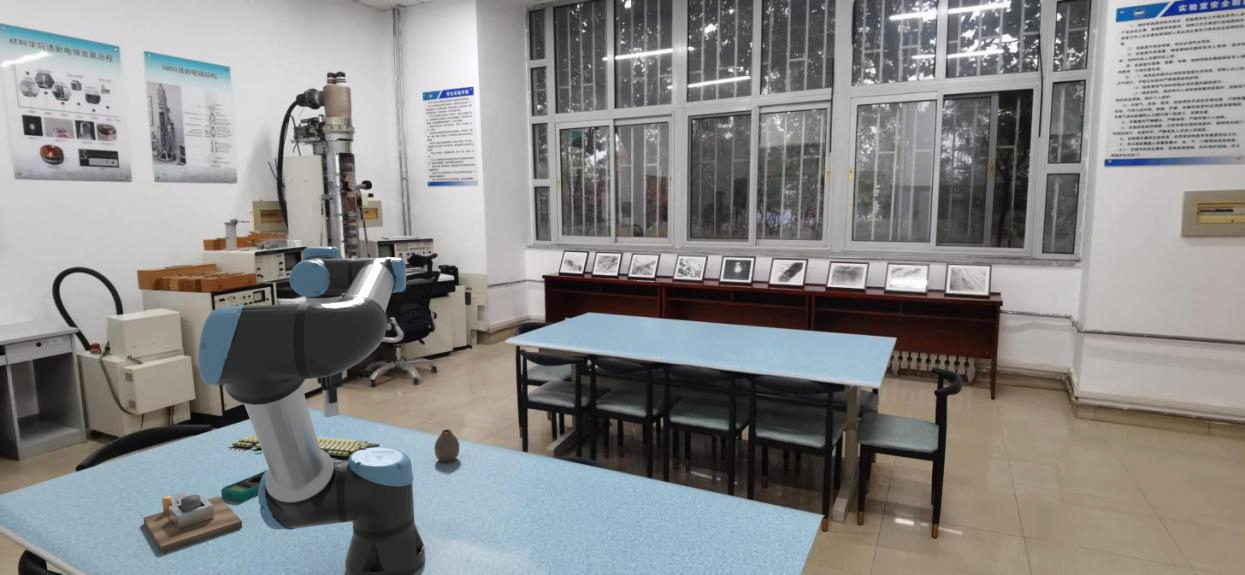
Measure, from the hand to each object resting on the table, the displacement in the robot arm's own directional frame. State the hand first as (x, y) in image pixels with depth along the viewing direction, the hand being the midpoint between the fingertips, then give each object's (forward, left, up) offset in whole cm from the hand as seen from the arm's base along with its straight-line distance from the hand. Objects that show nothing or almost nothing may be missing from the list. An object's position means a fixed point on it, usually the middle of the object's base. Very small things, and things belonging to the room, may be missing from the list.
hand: (331, 415), depth 145 cm
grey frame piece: (+22, +25, -23) cm, 40 cm away
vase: (+10, -35, -25) cm, 44 cm away
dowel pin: (+27, +28, -23) cm, 45 cm away
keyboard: (+50, -10, -25) cm, 57 cm away
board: (+19, +25, -24) cm, 40 cm away
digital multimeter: (+30, +8, -25) cm, 40 cm away
